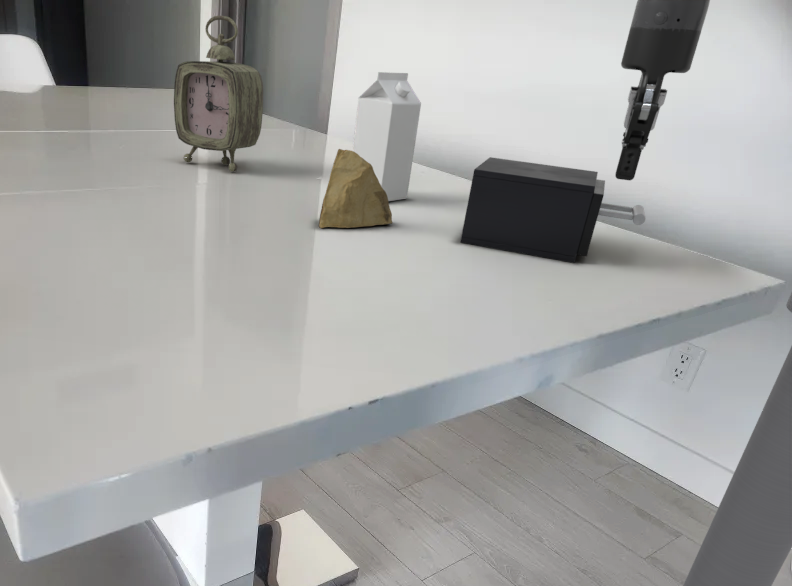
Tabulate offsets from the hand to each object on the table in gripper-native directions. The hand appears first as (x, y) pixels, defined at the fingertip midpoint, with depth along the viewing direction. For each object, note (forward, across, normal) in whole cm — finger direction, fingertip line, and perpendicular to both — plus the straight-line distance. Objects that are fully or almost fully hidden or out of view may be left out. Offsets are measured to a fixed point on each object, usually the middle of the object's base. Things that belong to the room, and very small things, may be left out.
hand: (623, 178), depth 86 cm
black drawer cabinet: (+10, -1, +11) cm, 14 cm away
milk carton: (+10, +12, +36) cm, 39 cm away
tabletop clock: (+9, +16, +68) cm, 71 cm away
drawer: (+9, -1, +6) cm, 11 cm away
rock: (+10, -8, +32) cm, 35 cm away
